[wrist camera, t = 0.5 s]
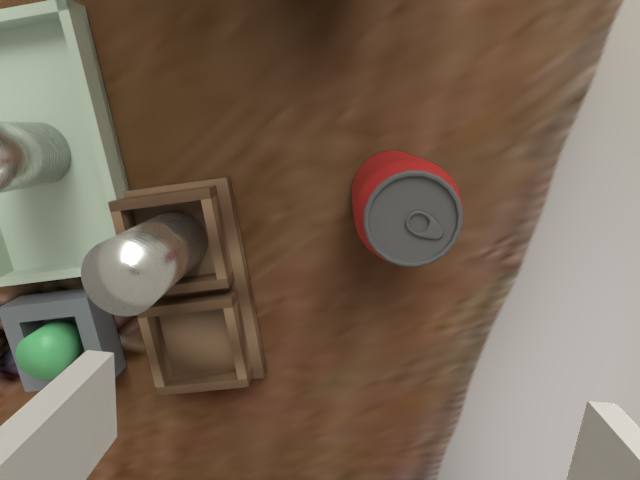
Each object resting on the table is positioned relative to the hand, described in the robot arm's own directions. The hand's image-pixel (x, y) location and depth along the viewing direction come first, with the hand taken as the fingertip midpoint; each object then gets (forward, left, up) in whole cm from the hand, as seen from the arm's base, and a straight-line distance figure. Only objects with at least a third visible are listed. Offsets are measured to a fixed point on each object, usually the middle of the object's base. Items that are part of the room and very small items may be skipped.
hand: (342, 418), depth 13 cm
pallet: (+4, -14, -26) cm, 30 cm away
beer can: (-2, +4, -26) cm, 27 cm away
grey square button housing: (+7, -26, -26) cm, 37 cm away
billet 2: (-1, -14, -25) cm, 28 cm away
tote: (-9, -24, -26) cm, 36 cm away
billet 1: (-9, -24, -25) cm, 36 cm away
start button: (+7, -26, -24) cm, 36 cm away
